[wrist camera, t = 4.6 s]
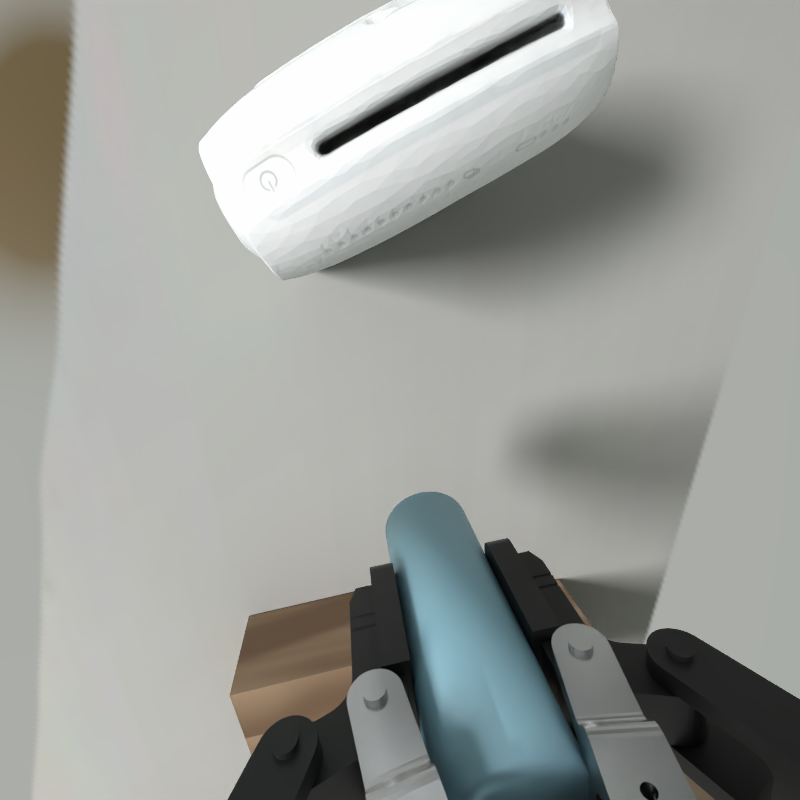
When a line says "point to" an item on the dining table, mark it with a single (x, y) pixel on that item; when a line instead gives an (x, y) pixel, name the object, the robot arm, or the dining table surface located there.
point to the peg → (475, 666)
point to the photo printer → (402, 121)
